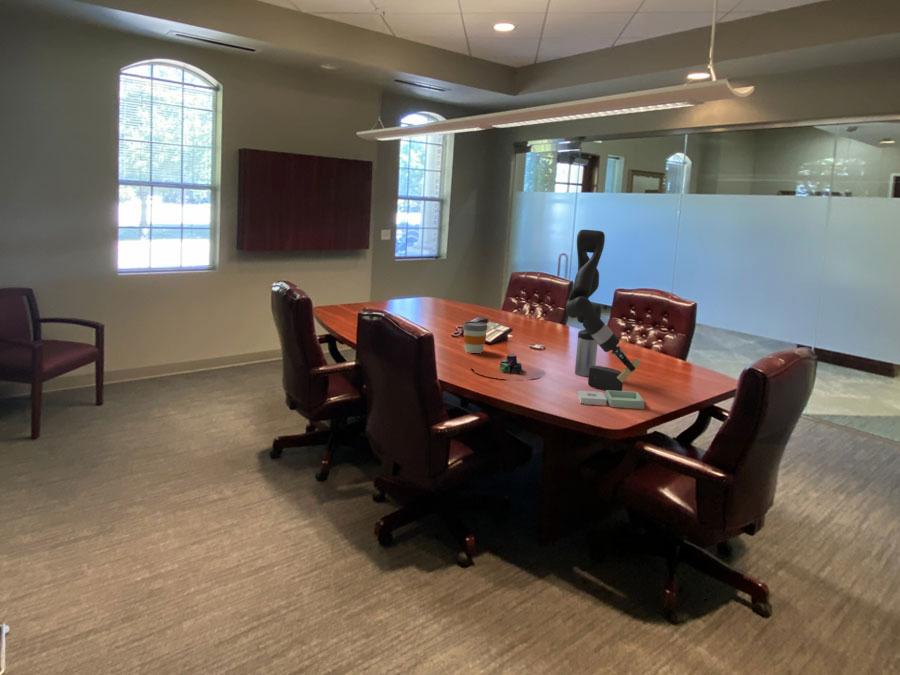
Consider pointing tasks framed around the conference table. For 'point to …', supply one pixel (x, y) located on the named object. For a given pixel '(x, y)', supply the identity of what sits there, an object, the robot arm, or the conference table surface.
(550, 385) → the conference table surface
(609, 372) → the leaning round-cornered charcoal block
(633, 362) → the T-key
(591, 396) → the cover plate
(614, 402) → the tray
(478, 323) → the reusable coffee cup
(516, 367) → the mineral sample
